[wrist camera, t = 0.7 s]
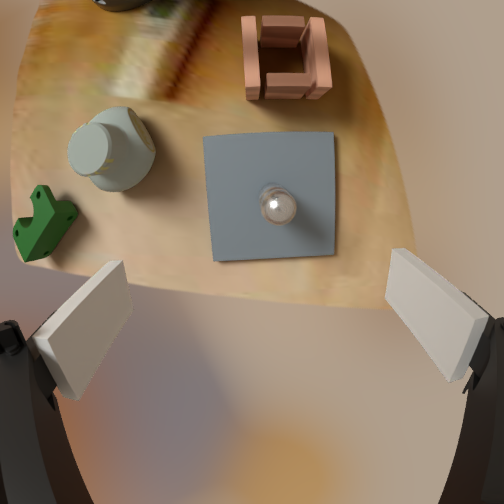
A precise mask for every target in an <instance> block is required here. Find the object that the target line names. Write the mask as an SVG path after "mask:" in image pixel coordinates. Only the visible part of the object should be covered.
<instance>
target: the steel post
mask: <svg viewBox="0 0 504 504" xmlns="http://www.w3.org/2000/svg"><path fill="white" fill-rule="evenodd" d="M258 200H259V205H260V210H261V214H262V216H263V218H264V219H265V220H266V221H267V222H268V223H270V224H272V225H276V226H281V225H285V224H287V223H289V222H290V221H291V220H292V219H293V218H294V216H295V214H296V209H297V206H296V202H295V199H294V198H293V196H292V195H291V194H290V193H289V192H288V191H287V190H285V189H284V188H283V187H282V186H281V185H280V184H277V183H267V184H265V185H264V186H263V187H262V188H261V189H260V191H259V194H258Z"/></svg>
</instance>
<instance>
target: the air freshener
mask: <svg viewBox="0 0 504 504" xmlns="http://www.w3.org/2000/svg"><path fill="white" fill-rule="evenodd" d="M155 154H156V150H155V147H154V144H153V141H152V139H151V137H150V135H149V133H148V131H147V130H146V128H145V126H144V125H143V123H142V121H141V120H140V119H139V117H138V116H137V115H136V113H135V112H134V111H133V110H132V109H131V108H129V107H113V108H109V109H107V110H104V111H103V112H101V113H99V114H98V115H96V116H95V117H94V118H93V119H92V120H91V121H90V122H89V123H85V124H83V125H82V126H81V127H79V128H77V130H76V131H75V132H74V133H73V135H72V138H71V140H70V141H69V144H68V160H69V163H70V165H71V167H72V169H73V170H74V171H75V172H76V173H77V174H79V175H81V176H85V177H89V178H90V179H91V181H92V182H93V183H94V184H95V185H96V186H97V187H98V188H99V189H101V190H104V191H108V192H120V191H124V190H127V189H129V188H131V187H133V186H135V185H136V184H138V183H139V182H140V181H141V180H142V179H143V178H144V177H145V176H146V174H147V173H148V172H149V170H150V168H151V166H152V164H153V161H154V159H155Z"/></svg>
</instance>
